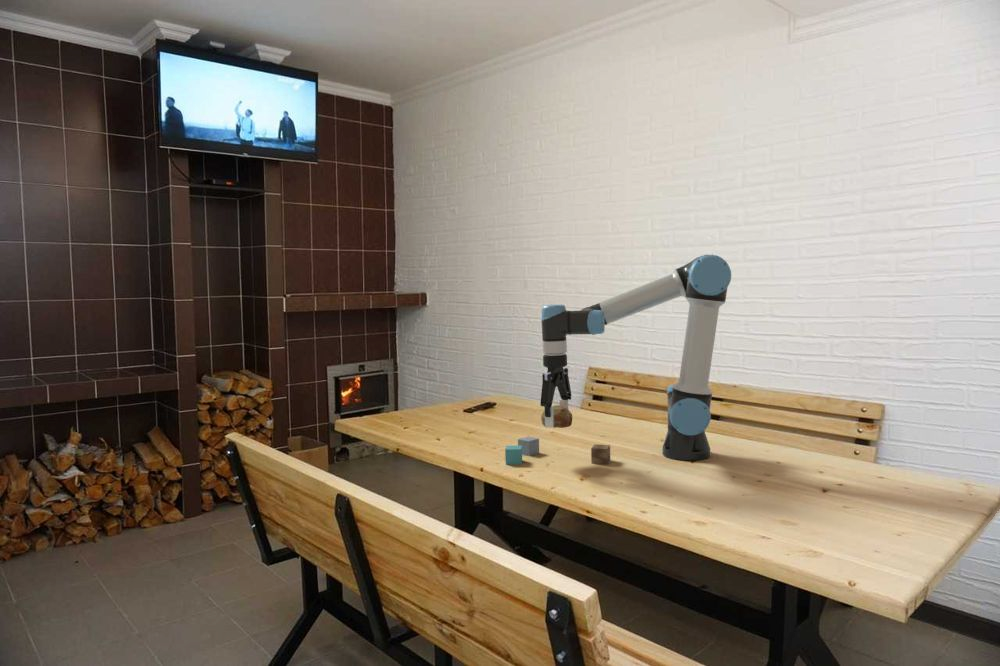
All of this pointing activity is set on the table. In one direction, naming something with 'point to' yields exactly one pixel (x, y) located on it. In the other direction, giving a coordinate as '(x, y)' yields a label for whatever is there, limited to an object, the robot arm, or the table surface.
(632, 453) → the table surface
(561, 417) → the bread roll
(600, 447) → the walnut block
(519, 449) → the dark teal block
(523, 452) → the slate grey block
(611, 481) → the table surface
